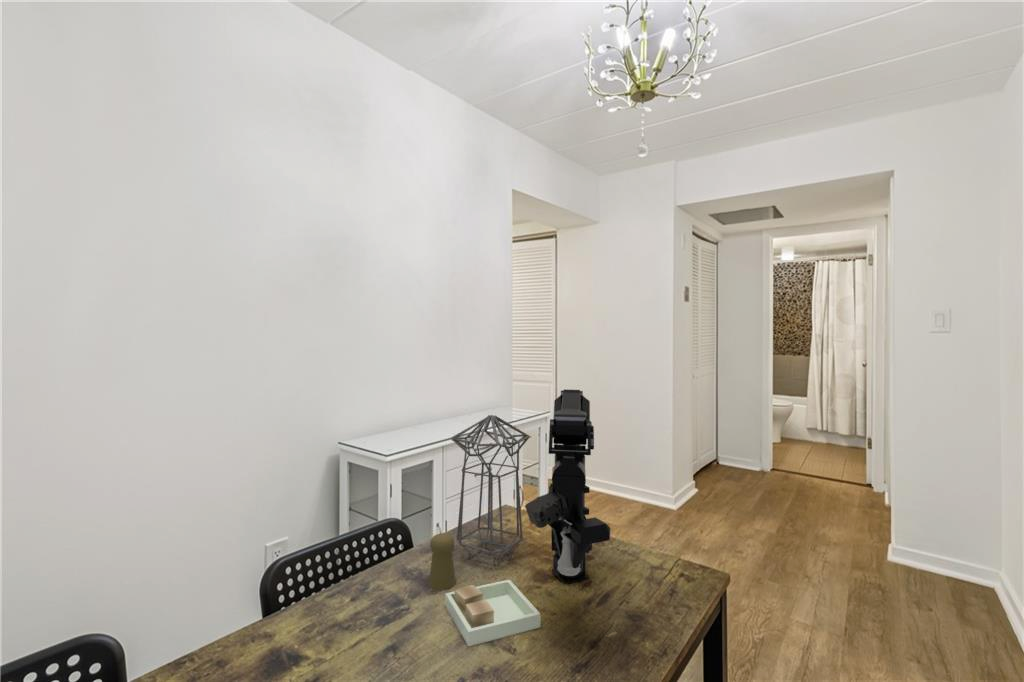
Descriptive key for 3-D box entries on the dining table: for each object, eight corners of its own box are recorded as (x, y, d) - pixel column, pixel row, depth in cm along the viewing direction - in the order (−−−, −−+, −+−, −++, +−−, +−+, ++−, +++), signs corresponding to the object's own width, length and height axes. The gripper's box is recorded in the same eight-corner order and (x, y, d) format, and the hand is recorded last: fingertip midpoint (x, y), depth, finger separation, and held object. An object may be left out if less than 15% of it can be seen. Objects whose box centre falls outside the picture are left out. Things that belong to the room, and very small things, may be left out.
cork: (450, 594, 104) (451, 542, 104) (423, 591, 105) (424, 539, 105) (459, 580, 110) (460, 531, 110) (433, 577, 111) (434, 529, 111)
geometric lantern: (445, 563, 118) (446, 416, 119) (481, 541, 132) (482, 409, 132) (502, 579, 110) (503, 421, 111) (534, 554, 124) (535, 413, 125)
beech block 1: (472, 604, 99) (472, 584, 99) (482, 613, 96) (482, 593, 96) (454, 610, 97) (454, 590, 97) (464, 620, 94) (464, 599, 94)
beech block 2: (485, 620, 94) (485, 599, 94) (493, 632, 90) (493, 610, 90) (465, 625, 92) (465, 604, 92) (472, 637, 88) (472, 615, 88)
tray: (509, 594, 104) (509, 579, 104) (540, 630, 92) (540, 613, 92) (445, 608, 99) (445, 593, 99) (468, 649, 86) (468, 632, 86)
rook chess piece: (582, 567, 95) (583, 526, 95) (578, 578, 91) (578, 535, 91) (560, 564, 97) (560, 523, 97) (554, 574, 93) (554, 531, 92)
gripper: (510, 472, 99) (509, 550, 99) (556, 500, 82) (556, 594, 82) (559, 466, 103) (558, 540, 104) (612, 492, 86) (611, 581, 87)
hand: (568, 562), depth 94 cm, fingers closed on rook chess piece, 4 cm apart
